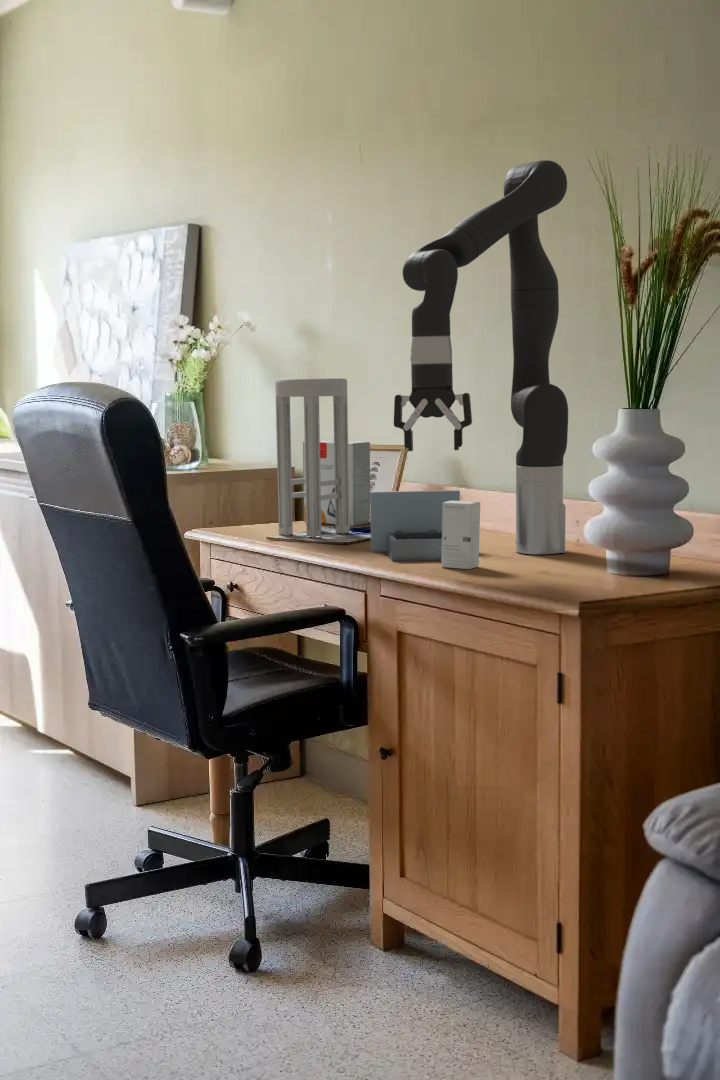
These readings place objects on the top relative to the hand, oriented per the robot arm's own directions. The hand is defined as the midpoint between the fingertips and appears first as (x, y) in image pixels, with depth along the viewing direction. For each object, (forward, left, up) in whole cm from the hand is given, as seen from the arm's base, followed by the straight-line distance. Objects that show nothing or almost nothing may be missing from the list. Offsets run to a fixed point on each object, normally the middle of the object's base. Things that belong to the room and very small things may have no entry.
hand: (433, 450), depth 240 cm
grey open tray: (+1, -14, -21) cm, 25 cm away
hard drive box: (+15, -76, -22) cm, 80 cm away
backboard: (+1, -22, -21) cm, 30 cm away
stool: (+21, -54, -22) cm, 62 cm away
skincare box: (-5, +3, -22) cm, 22 cm away
